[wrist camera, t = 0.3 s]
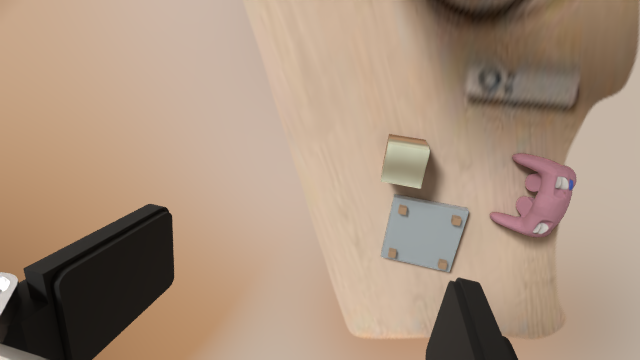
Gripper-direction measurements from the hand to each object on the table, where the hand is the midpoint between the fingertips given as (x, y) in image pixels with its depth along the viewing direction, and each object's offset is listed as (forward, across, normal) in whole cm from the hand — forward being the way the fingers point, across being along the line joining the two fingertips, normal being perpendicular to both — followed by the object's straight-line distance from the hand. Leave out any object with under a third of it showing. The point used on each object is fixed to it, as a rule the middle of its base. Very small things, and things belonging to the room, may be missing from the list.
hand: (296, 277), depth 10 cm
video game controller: (+35, -21, +5) cm, 41 cm away
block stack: (+34, -5, +3) cm, 35 cm away
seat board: (+35, -10, +14) cm, 39 cm away
